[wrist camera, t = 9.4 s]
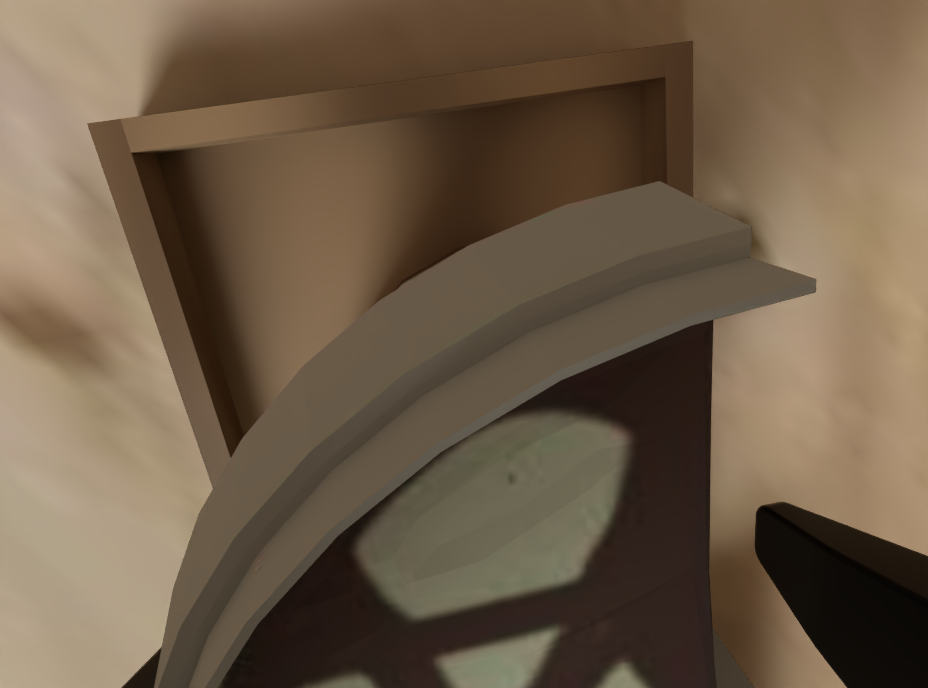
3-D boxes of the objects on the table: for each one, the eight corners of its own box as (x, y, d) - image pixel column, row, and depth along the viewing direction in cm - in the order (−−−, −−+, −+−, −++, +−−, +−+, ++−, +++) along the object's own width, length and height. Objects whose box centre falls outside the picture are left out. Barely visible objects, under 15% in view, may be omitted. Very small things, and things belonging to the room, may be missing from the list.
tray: (648, 58, 13) (692, 40, 11) (661, 588, 18) (692, 636, 16) (134, 130, 12) (86, 123, 10) (305, 667, 17) (296, 729, 15)
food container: (227, 212, 12) (-336, 378, 3) (497, 172, 13) (827, 189, 3) (343, 632, 16) (282, 1290, 7) (543, 588, 17) (749, 1142, 7)
